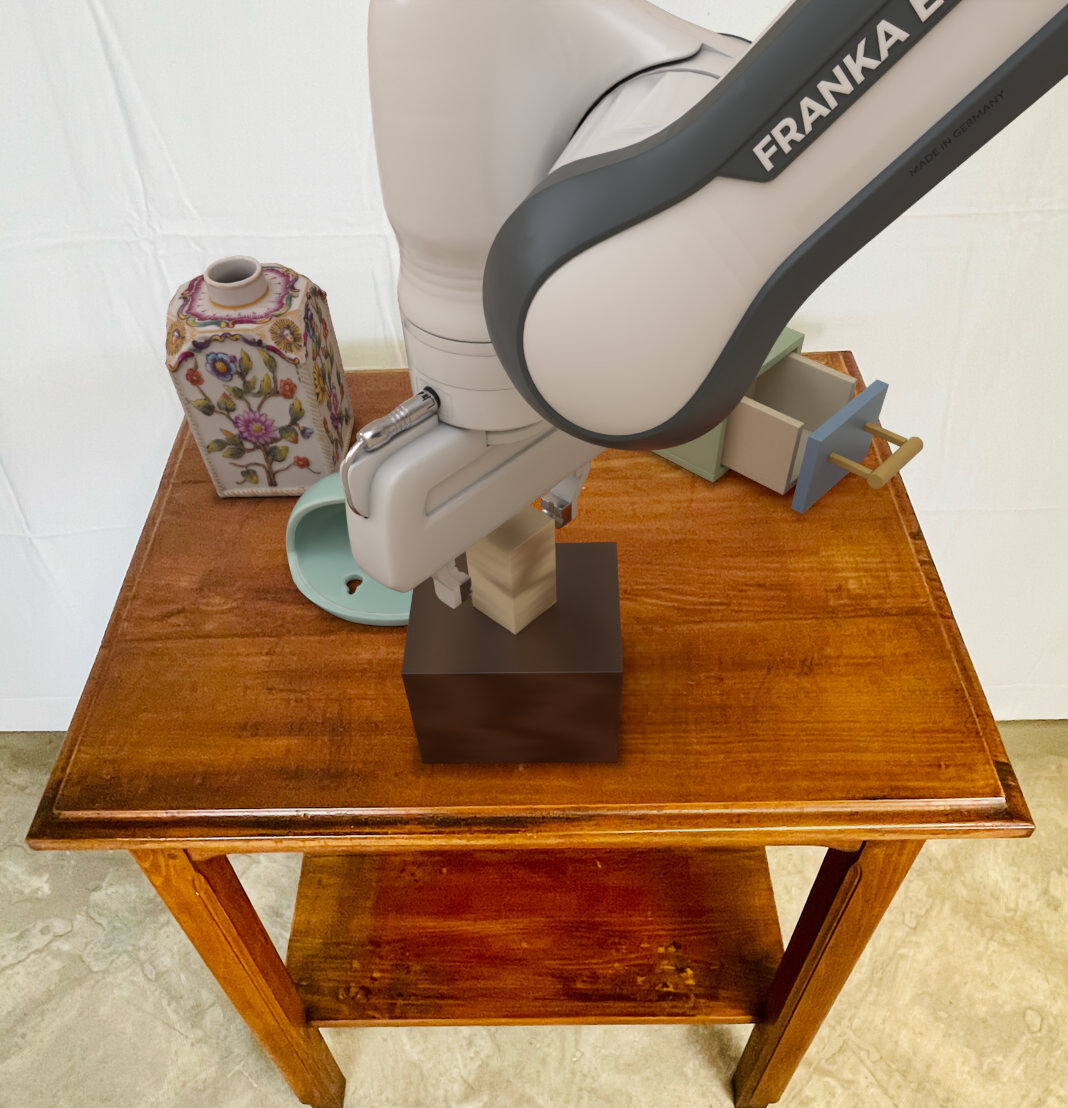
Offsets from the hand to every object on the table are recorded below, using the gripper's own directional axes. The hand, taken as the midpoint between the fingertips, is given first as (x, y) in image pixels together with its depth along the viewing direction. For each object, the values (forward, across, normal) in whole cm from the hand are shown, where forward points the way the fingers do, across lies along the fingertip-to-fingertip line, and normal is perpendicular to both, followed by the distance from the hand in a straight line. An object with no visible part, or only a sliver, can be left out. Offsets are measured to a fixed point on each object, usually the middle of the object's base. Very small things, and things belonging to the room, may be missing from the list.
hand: (508, 557), depth 56 cm
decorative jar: (+14, +7, +37) cm, 40 cm away
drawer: (+13, +36, -1) cm, 38 cm away
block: (+4, 0, 0) cm, 4 cm away
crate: (+14, 0, 0) cm, 14 cm away
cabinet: (+14, +36, +11) cm, 40 cm away
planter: (+14, +4, +18) cm, 24 cm away
